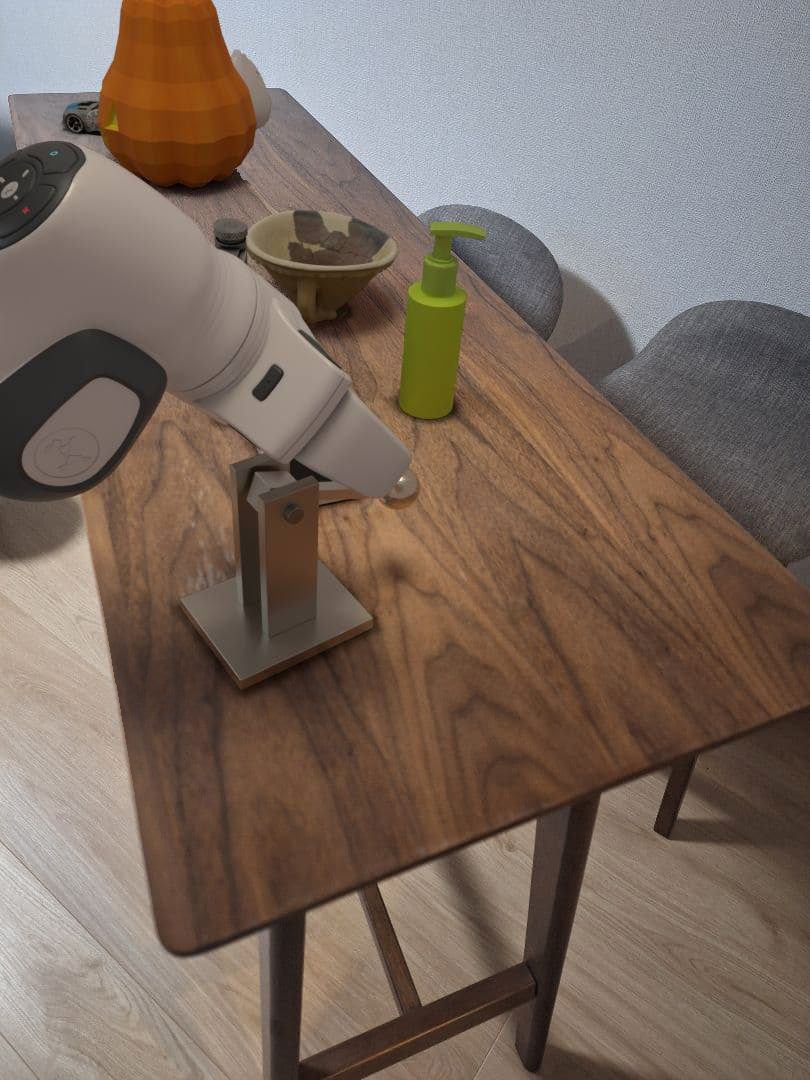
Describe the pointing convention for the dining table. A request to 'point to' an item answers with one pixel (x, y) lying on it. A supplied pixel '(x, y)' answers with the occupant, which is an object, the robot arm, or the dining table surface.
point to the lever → (338, 489)
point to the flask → (231, 237)
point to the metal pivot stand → (274, 584)
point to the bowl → (320, 258)
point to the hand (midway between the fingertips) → (356, 433)
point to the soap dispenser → (434, 327)
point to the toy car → (81, 116)
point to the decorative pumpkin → (175, 95)
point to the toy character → (253, 86)
